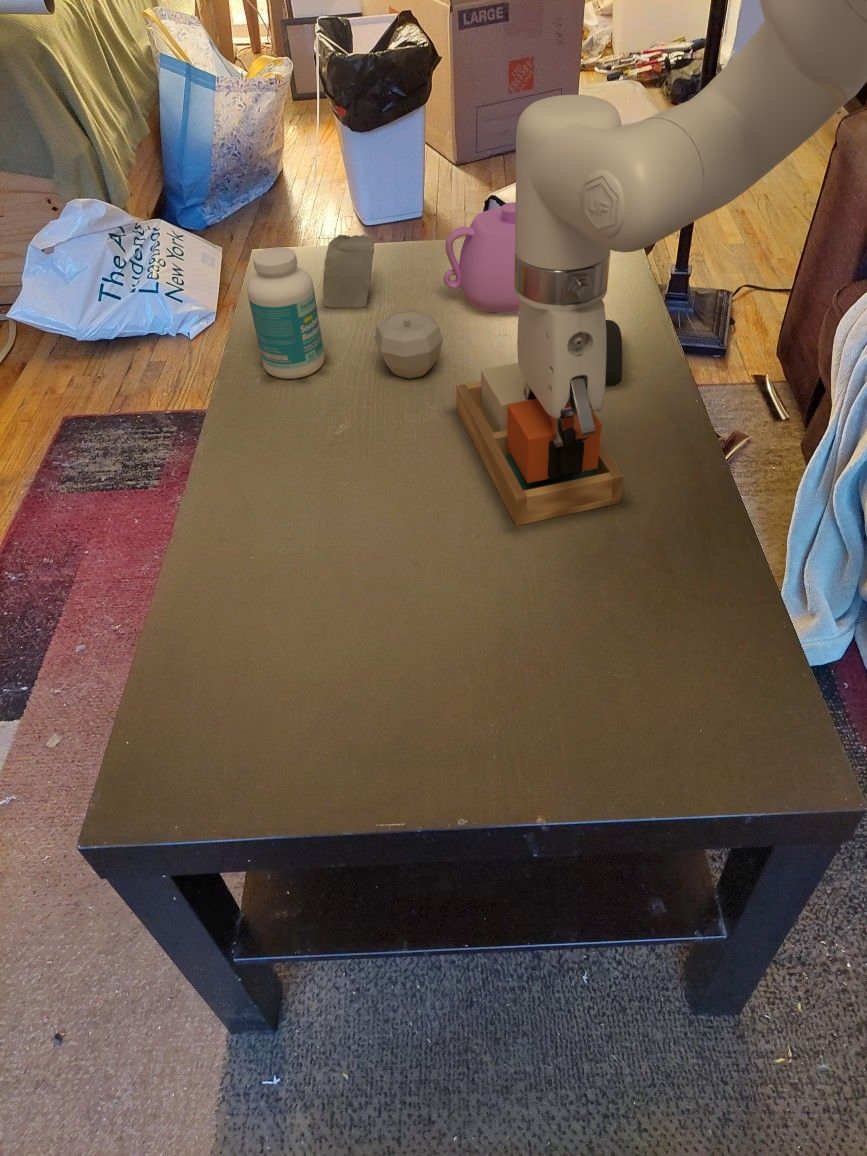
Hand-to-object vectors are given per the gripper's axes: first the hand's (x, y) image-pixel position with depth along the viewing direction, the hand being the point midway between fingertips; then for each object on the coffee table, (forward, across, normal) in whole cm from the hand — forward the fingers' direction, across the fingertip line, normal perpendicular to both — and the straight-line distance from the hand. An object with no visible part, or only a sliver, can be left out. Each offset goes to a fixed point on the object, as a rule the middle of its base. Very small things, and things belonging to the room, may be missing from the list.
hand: (552, 452), depth 80 cm
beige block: (+3, +10, 0) cm, 10 cm away
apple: (+4, +25, +8) cm, 26 cm away
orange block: (+1, 0, 0) cm, 1 cm away
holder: (+4, +5, 0) cm, 6 cm away
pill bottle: (+4, +31, +21) cm, 38 cm away
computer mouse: (+4, +20, -13) cm, 24 cm away
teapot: (+4, +38, -10) cm, 39 cm away
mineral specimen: (+4, +46, +11) cm, 47 cm away
